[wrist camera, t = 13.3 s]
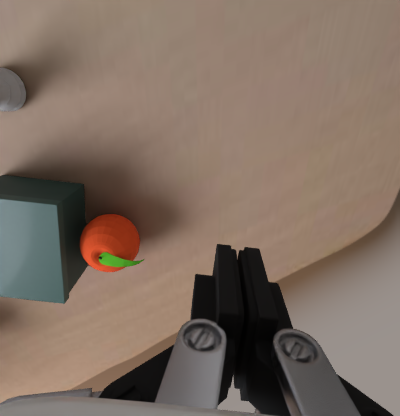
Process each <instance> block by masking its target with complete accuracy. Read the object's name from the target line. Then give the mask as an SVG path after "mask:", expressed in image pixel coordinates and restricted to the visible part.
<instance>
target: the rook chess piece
mask: <svg viewBox="0 0 400 416" xmlns="http://www.w3.org/2000/svg"><path fill="white" fill-rule="evenodd" d="M25 99H26V90H25V87H24V84H23V82H22V81H21V79H20V77H19V76H18V75H16V74H15V73H14V72H13V71H11V70H9V69H6V68H0V110H1V111H16V110H17V109H19V108H21V107H22V106H23V104H24V102H25Z"/></svg>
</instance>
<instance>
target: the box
mask: <svg viewBox="0 0 400 416" xmlns="http://www.w3.org/2000/svg"><path fill="white" fill-rule="evenodd" d="M85 226H86V223H85V199H84V184H80V183H71V182H62V181H53V180H44V179H35V178H26V177H17V176H9V175H2V176H0V297H9V298H18V299H27V300H36V301H45V302H54V303H63V304H65V302H66V301H67V299H68V298H69V292H70V291H71V289H72V288H73V286H74V285H75V284H76V282H77V281H78V279H79V278H80V276H81V275H82V273H83V272H84V270H85V269H86V267H87V262H86V261H85V260H84V258H83V256H82V254H81V251H80V236H81V234H82V232H83V230H84V228H85Z"/></svg>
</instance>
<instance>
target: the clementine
mask: <svg viewBox="0 0 400 416" xmlns="http://www.w3.org/2000/svg"><path fill="white" fill-rule="evenodd" d="M139 244H140V239H139V234H138V232H137V230H136V227H135V226H134V225H133V223H132V222H131V221H129V220H128V219H127V218H125V217H123V216H121V215H116V214H104V215H101V216H98V217H96V218H95V219H93V220H92V221H90V222H89V223H88V224H87V225H86V226H85V228H84V230H83V232H82V234H81V236H80V251H81V254H82V256H83V258H84V260H85V261H86V262H87V263H88V264H89V265H90V266H91V267H93V268H94V269H97V270H99V271H104V272H115V271H119V270H121V269H123V268H125V267H127V266H133V265H136V264H139V263H140V262H142V261H143V260H144V259H143V260H141V261H133V260H134V259H135V257H136V255H137V253H138V250H139Z"/></svg>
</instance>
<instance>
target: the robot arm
mask: <svg viewBox="0 0 400 416" xmlns="http://www.w3.org/2000/svg"><path fill="white" fill-rule="evenodd" d="M233 375H234V386H235V388H237V389H240V394H241V400H242V401H249V402H250V403H251V404H252V405H253V406H254V407H255V408H256V409H255V413H246V412H237V411H228V410H218V409H217V407H218V405H219V404H220V403H221V402H222V401H223V400H225V399H226V398H227V394H228V389H229V388H230V386H231V382H232V377H233ZM0 416H393V415H392V414H391V413H390V412H388V411H387V410H386V409H384V408H383V407H381V406H380V405H379V404H377V403H376V402H374V401H373V400H372V399H370V398H369V397H367V396H366V395H365V394H363V393H362V392H361V391H359V390H358V389H357V388H355V387H354V386H352V385H351V384H350V383H348V382H347V381H346V380H344V379H343V378H341V377H340V376H339V375H337V374H336V372H335V370H334V369H333V367H332V365H331V364H330V362H329V360H328V358H327V357H326V355H325V354H324V352H323V350H322V348H321V347H320V345H319V344H318V343H317V341H316V340H315V339H313V338H312V337H311V336H310V335H308V334H306V333H304V332H302V331H300V330H297V329H293V327H292V324H291V321H290V318H289V315H288V311H287V308H286V305H285V303H284V299H283V296H282V293H281V290H280V287H279V285H278V284H277V283H272V282H268V278H267V275H266V271H265V268H264V264H263V261H262V257H261V253H260V250H259V249H257V248H248V247H245V248H244V251H243V250H240V251H239V254H238V260H237V254H236V250H234V249H231V246H230V245H221V244H217V248H216V254H215V261H214V268H213V275H212V276H209V275H200V274H195V282H194V290H193V299H192V309H191V319H190V321H188V322H186V323H185V324H184V325H182V327H181V328H180V330H179V333H178V336H177V339H176V342H175V344H174V345H173V346H171V347H169V348H168V349H166V350H164V351H163V352H161V353H160V354H158V355H156V356H155V357H153V358H151V359H150V360H148V361H147V362H145V363H143V364H142V365H140V366H139V367H137V368H135V369H133V370H132V371H130V372H129V373H127V374H125V375H124V376H122V377H120V378H119V379H117V380H116V381H114V382H112V383H111V384H110V385H108V386H107V387H106V388H105V389H104V391H99V392H92V388H87V389H78V390H69V391H60V392H51V393H41V394H32V395H23V396H17V397H14V398H10V399H7V400H6V401H4V402H2V403H0Z"/></svg>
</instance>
